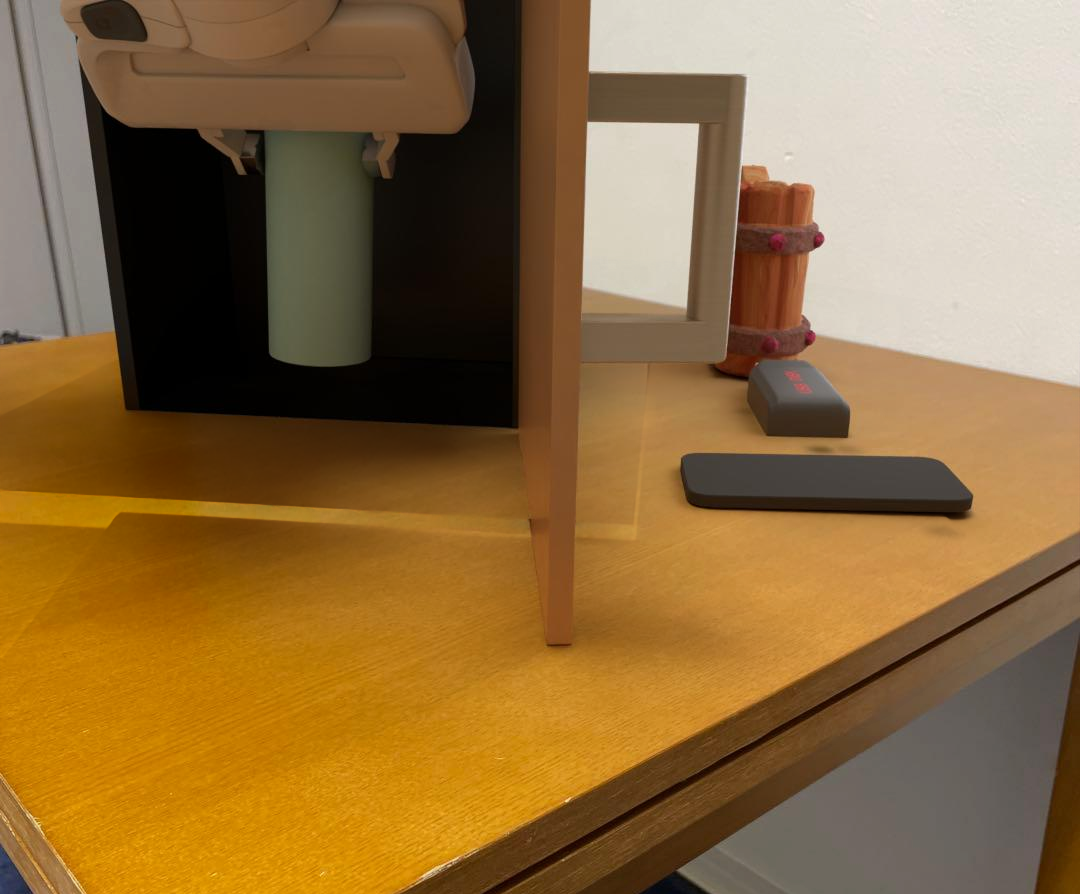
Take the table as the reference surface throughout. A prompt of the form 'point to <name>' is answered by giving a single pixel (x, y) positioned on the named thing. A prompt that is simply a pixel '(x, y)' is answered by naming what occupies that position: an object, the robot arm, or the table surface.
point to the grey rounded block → (796, 400)
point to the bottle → (319, 247)
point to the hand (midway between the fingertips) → (317, 168)
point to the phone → (822, 482)
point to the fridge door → (558, 248)
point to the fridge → (398, 266)
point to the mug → (770, 272)
